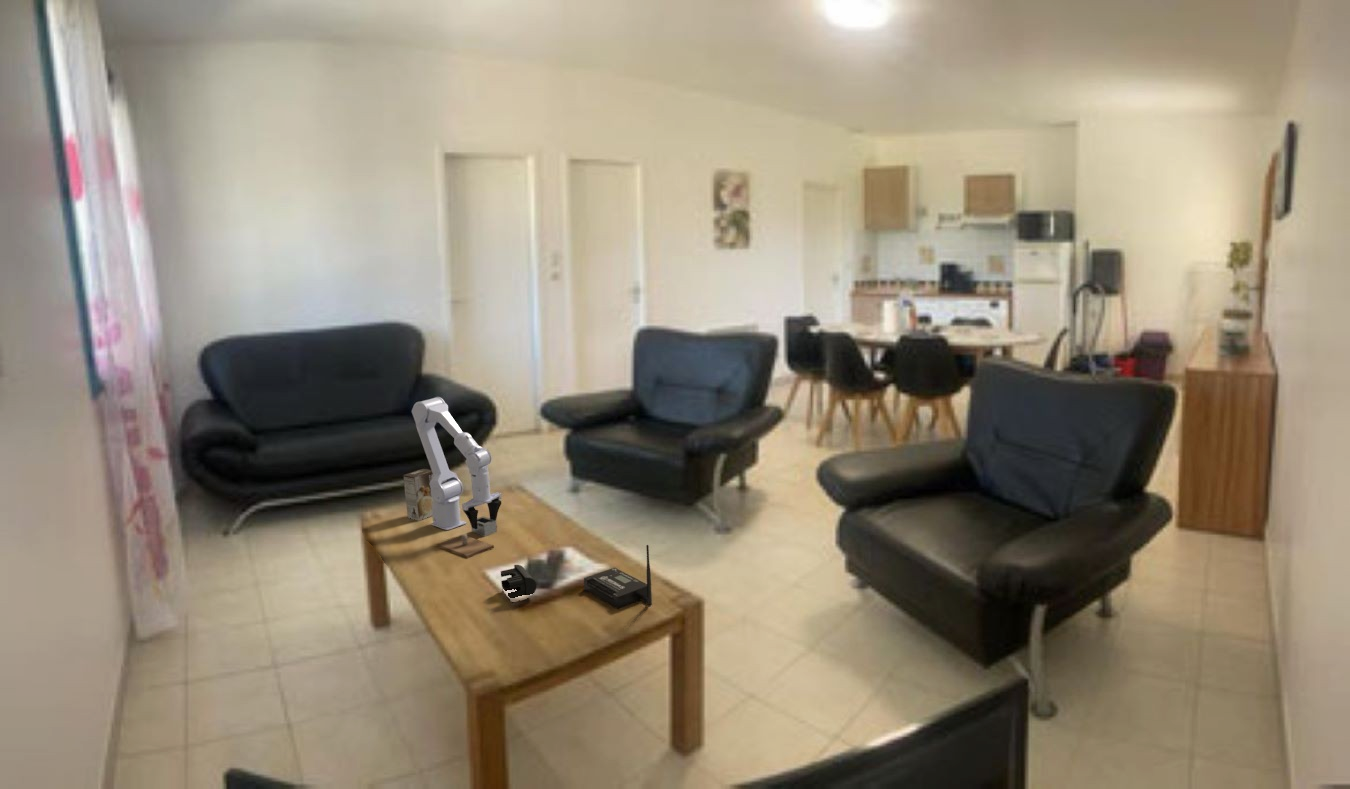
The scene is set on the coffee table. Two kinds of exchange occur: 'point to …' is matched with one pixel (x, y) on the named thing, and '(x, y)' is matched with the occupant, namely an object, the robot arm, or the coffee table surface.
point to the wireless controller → (619, 587)
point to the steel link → (485, 526)
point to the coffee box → (418, 494)
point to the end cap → (518, 582)
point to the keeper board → (465, 546)
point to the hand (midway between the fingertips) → (484, 524)
